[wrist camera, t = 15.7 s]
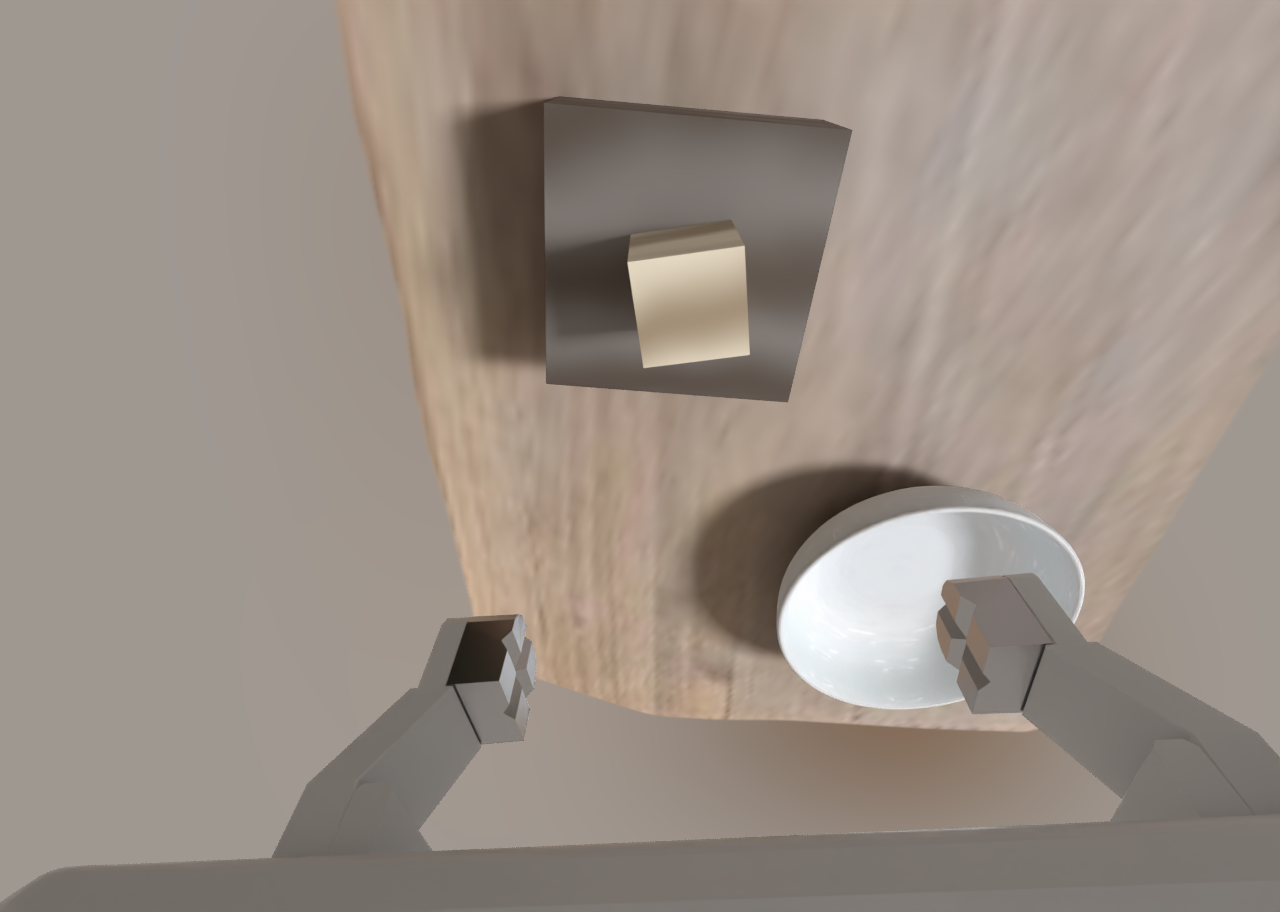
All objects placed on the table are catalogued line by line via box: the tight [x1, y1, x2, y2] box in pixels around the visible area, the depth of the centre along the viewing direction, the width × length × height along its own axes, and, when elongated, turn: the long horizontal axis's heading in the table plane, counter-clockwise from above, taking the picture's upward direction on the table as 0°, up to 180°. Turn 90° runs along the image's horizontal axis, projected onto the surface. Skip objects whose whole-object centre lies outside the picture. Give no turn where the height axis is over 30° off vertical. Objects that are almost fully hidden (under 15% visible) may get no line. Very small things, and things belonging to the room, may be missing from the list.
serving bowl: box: [776, 486, 1085, 709], centre depth 46 cm, size 21×21×7 cm
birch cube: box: [627, 220, 750, 368], centre depth 29 cm, size 5×5×5 cm
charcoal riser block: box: [544, 97, 852, 402], centre depth 34 cm, size 14×14×6 cm
